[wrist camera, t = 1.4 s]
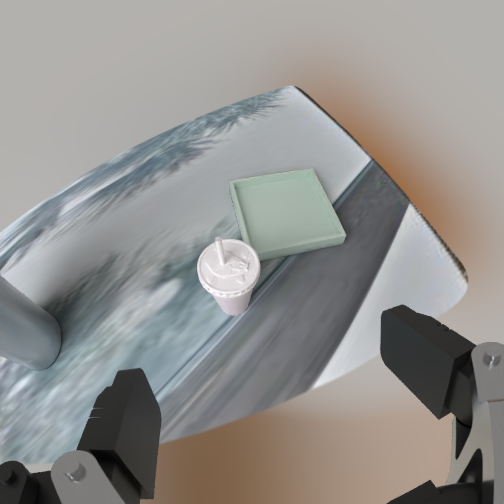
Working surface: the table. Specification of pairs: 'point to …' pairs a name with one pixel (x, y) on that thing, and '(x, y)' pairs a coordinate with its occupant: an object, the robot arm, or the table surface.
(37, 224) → the table surface
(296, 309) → the table surface
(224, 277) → the smoothie
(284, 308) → the table surface
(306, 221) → the tray
